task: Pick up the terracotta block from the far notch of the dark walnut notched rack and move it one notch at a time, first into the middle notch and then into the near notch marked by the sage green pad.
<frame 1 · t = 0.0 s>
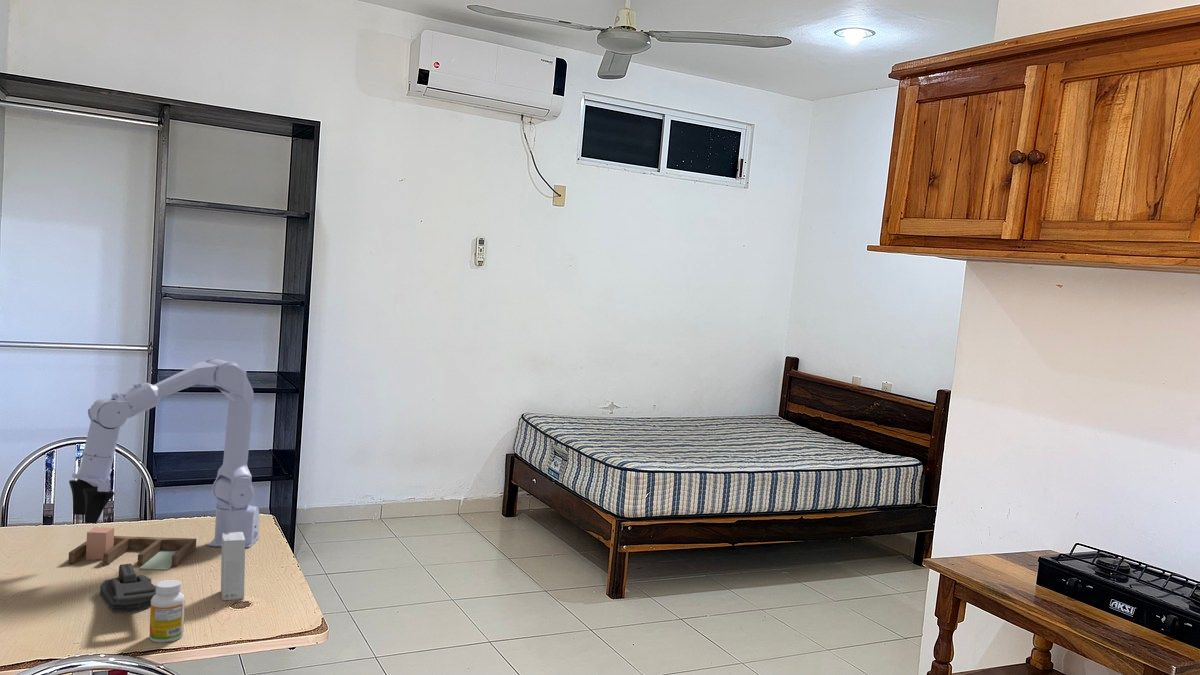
hand: (84, 518, 185), 11 cm above the table, tool pointing down, fingers open, 7 cm apart
skincare box: (231, 595, 176), on the table
terracotta block: (99, 556, 193), on the table
notched rack: (133, 557, 193), on the table
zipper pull: (131, 609, 166), on the table
supplement bottle: (166, 638, 155), on the table
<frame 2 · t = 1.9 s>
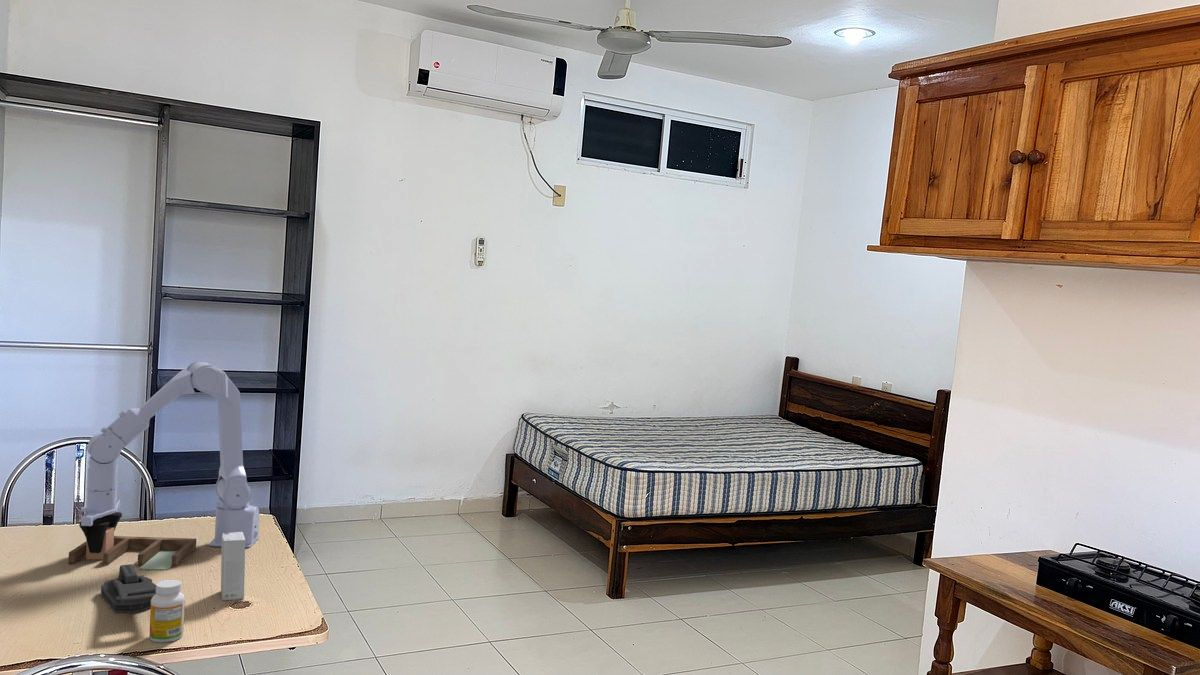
hand: (100, 549, 193), 2 cm above the table, tool pointing down, fingers closed on terracotta block, 4 cm apart
terracotta block: (99, 556, 193), on the table, touching gripper
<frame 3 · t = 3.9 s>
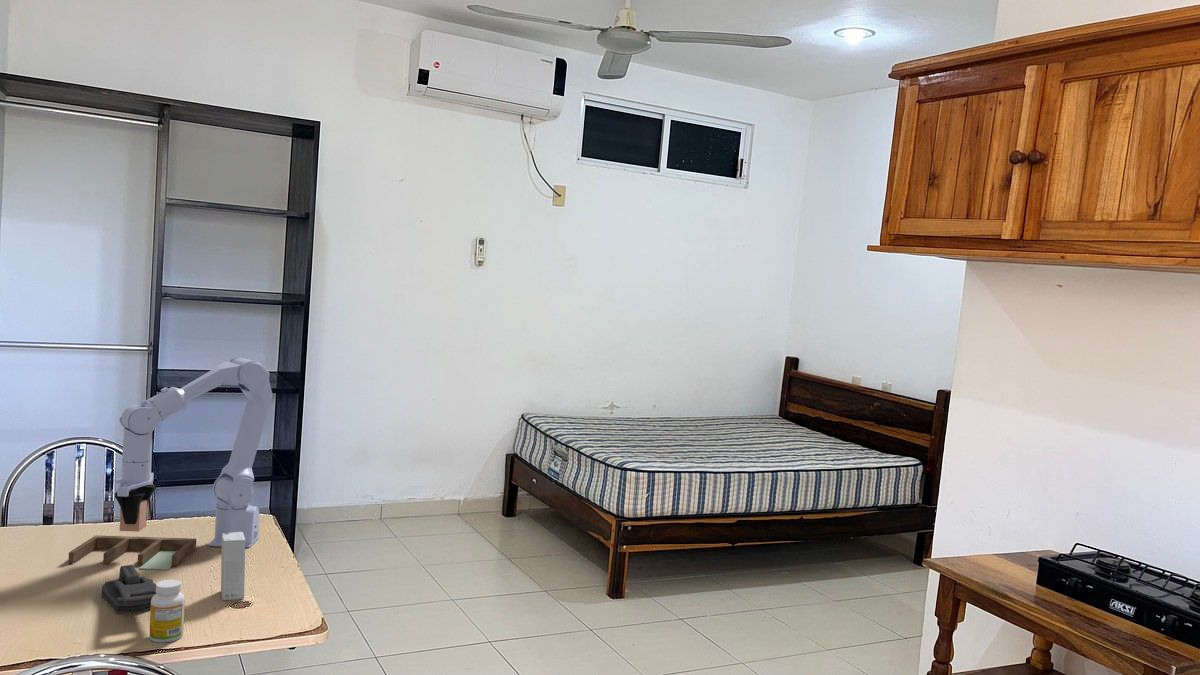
hand: (134, 520, 193), 8 cm above the table, tool pointing down, fingers closed on terracotta block, 4 cm apart
terracotta block: (133, 528, 193), point 6 cm above the table, touching gripper
when the fingers open (3 cm above the table, at t = 5.2 s): terracotta block drops 1 cm, on the table.
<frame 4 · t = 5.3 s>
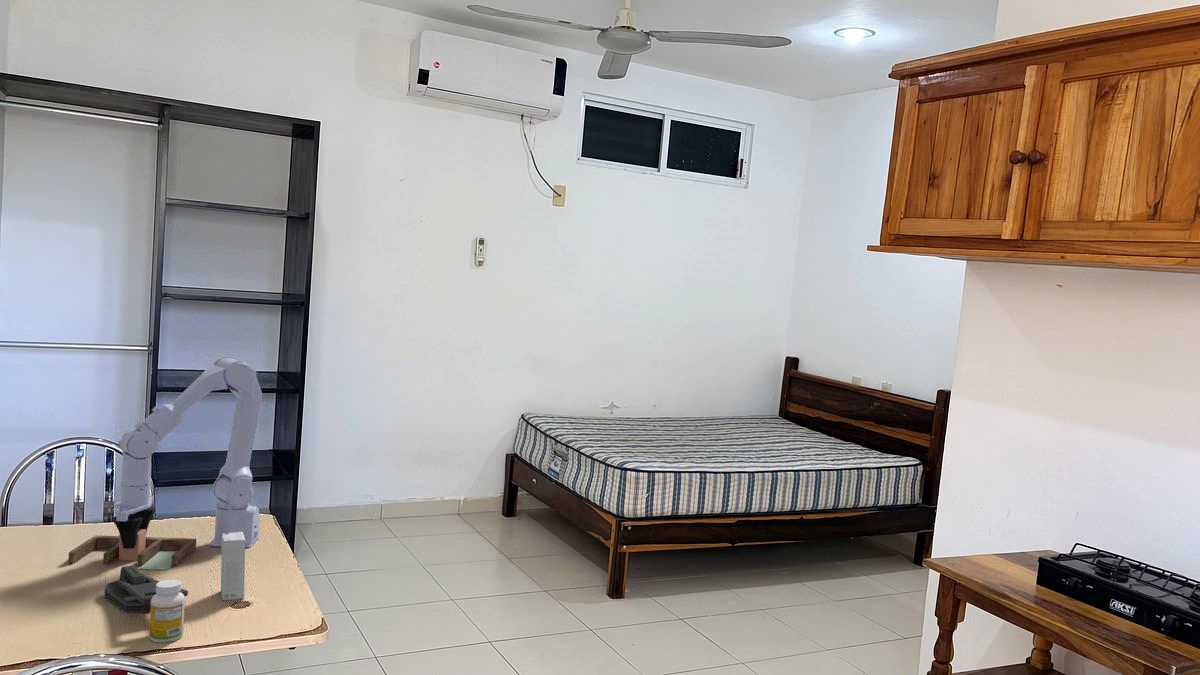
hand: (133, 544, 193), 3 cm above the table, tool pointing down, fingers open, 5 cm apart
terracotta block: (132, 558, 193), on the table
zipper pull: (143, 610, 166), on the table
everything else where it was.
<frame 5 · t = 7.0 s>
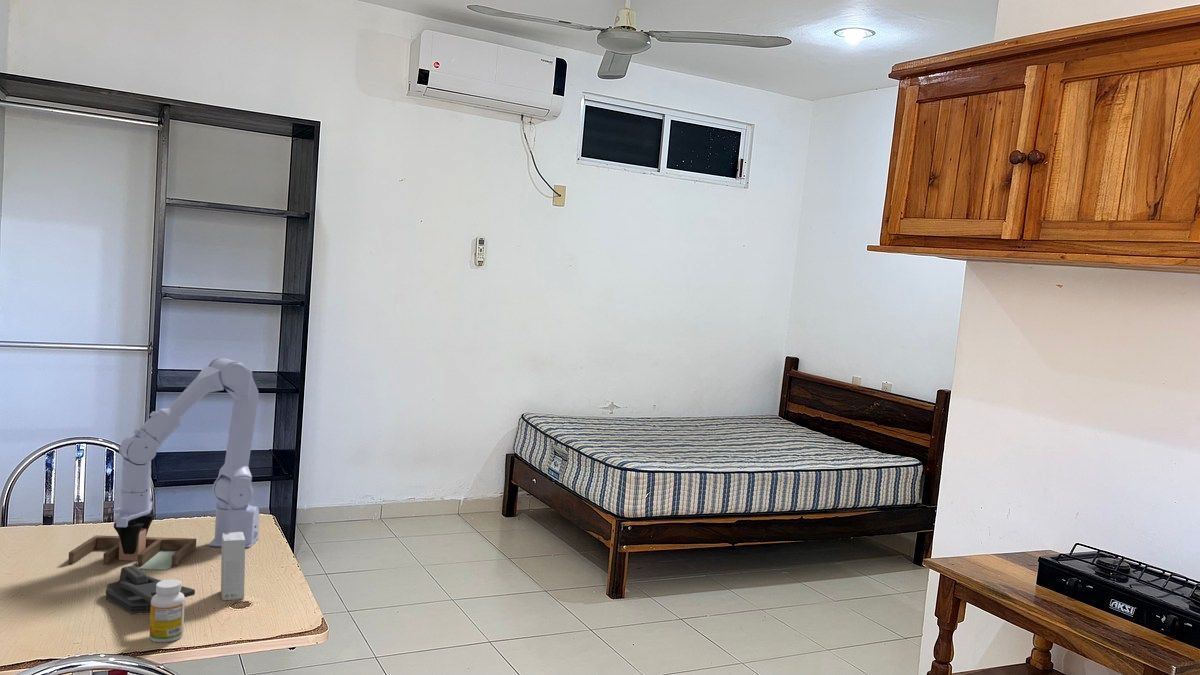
hand: (133, 550, 193), 2 cm above the table, tool pointing down, fingers closed on terracotta block, 4 cm apart
terracotta block: (132, 557, 193), on the table, touching gripper
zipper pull: (147, 610, 166), on the table, touching supplement bottle
supplement bottle: (166, 637, 155), on the table, touching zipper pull
everything else where it was.
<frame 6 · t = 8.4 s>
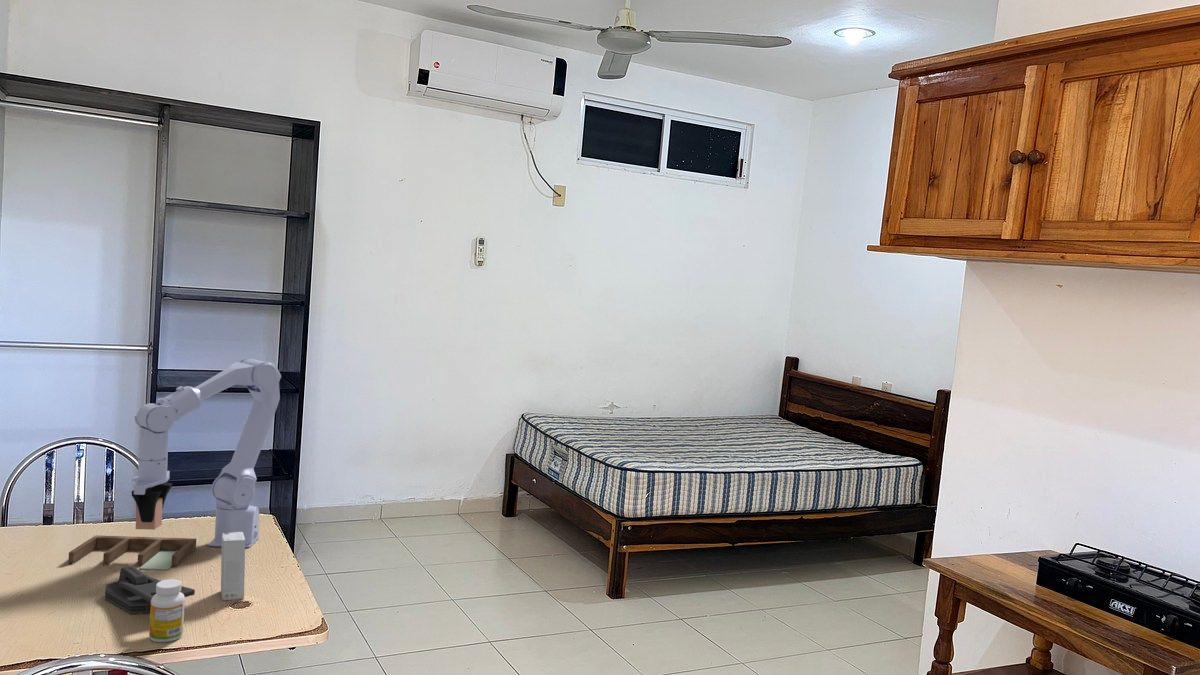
hand: (151, 518, 193), 9 cm above the table, tool pointing down, fingers closed on terracotta block, 4 cm apart
terracotta block: (148, 526, 194), point 7 cm above the table, touching gripper
everything else where it was.
when the fingers open (3 cm above the table, at t = 10.2 s): terracotta block stays where it is, resting on notched rack.
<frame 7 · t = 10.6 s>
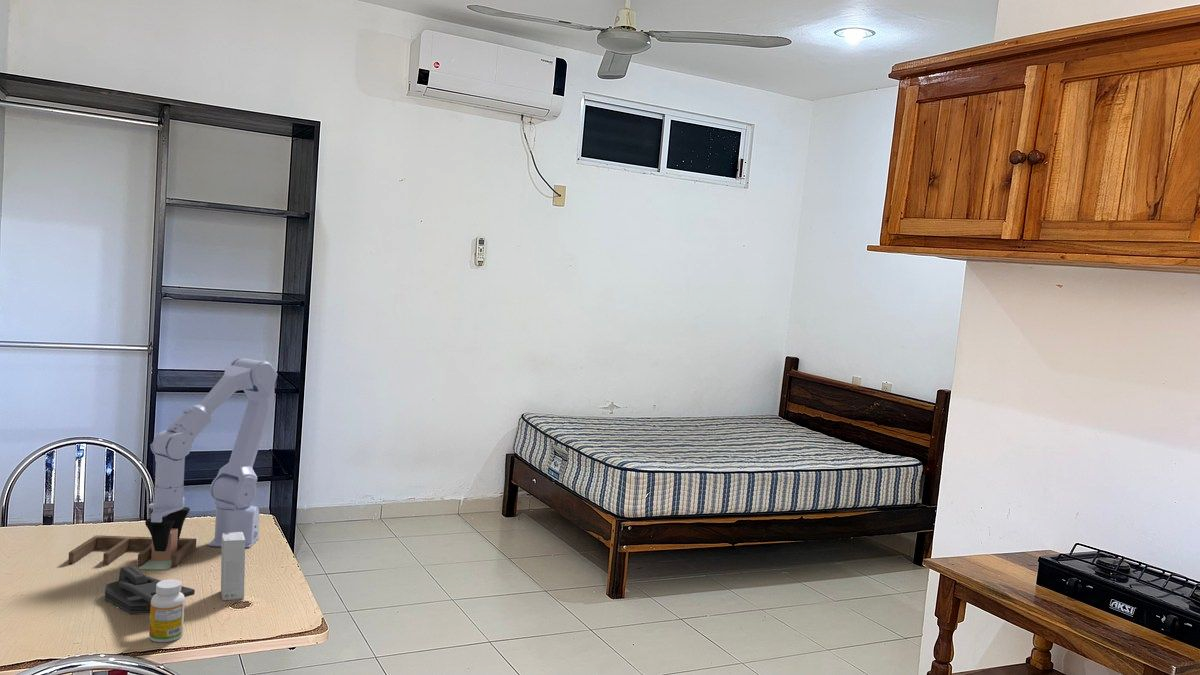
hand: (167, 545, 194), 3 cm above the table, tool pointing down, fingers open, 7 cm apart
terracotta block: (164, 557, 194), resting on notched rack
everything else where it was.
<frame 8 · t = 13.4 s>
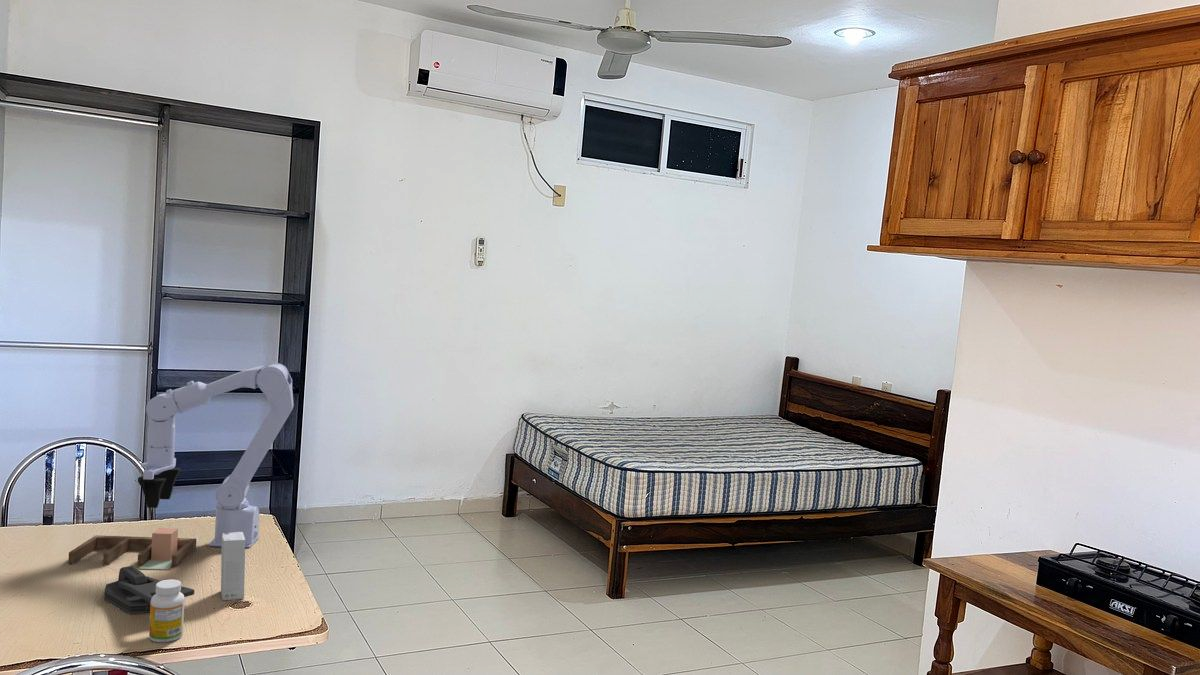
hand: (158, 503, 204), 9 cm above the table, tool pointing down, fingers open, 7 cm apart
nothing on the table moved.
at the end: terracotta block 0.5 cm from the target spot on the notched rack, point 0.2 cm above the notched rack's base; terracotta block tilted 0°; the gripper is holding nothing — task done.
